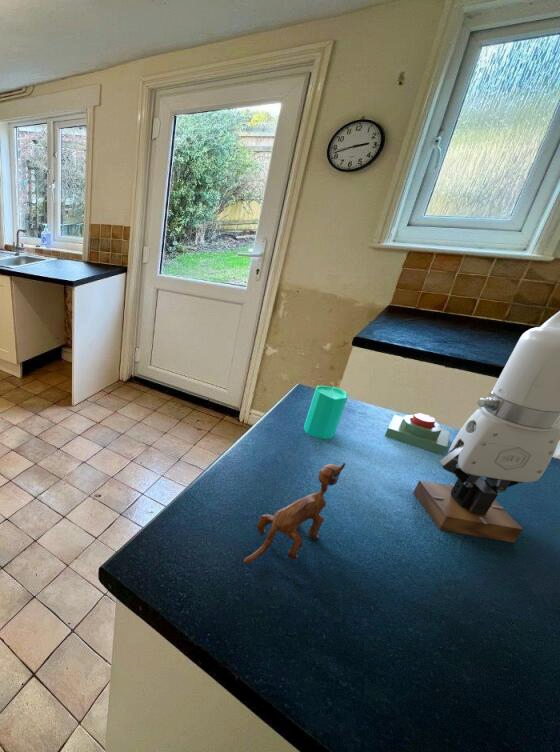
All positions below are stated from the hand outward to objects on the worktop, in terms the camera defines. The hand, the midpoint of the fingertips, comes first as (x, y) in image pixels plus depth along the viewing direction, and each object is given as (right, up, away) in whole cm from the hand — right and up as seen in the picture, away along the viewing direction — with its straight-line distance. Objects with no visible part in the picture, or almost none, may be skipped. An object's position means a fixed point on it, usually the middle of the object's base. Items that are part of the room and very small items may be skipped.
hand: (468, 502), depth 70 cm
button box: (+11, +7, +22) cm, 26 cm away
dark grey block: (0, 0, 0) cm, 0 cm away
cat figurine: (-34, -6, -4) cm, 35 cm away
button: (+11, +10, +21) cm, 25 cm away
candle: (-9, +8, +25) cm, 27 cm away
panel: (0, -3, +1) cm, 3 cm away
